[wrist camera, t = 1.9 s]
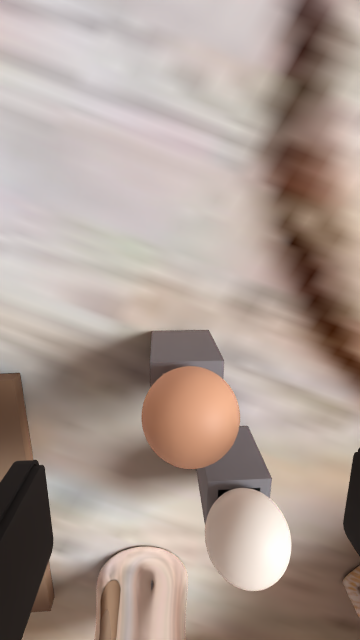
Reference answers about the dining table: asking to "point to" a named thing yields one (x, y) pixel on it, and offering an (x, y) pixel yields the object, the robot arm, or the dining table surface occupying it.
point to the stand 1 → (183, 352)
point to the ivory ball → (248, 539)
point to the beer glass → (142, 596)
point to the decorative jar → (353, 588)
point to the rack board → (19, 457)
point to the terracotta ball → (190, 417)
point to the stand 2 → (234, 471)
